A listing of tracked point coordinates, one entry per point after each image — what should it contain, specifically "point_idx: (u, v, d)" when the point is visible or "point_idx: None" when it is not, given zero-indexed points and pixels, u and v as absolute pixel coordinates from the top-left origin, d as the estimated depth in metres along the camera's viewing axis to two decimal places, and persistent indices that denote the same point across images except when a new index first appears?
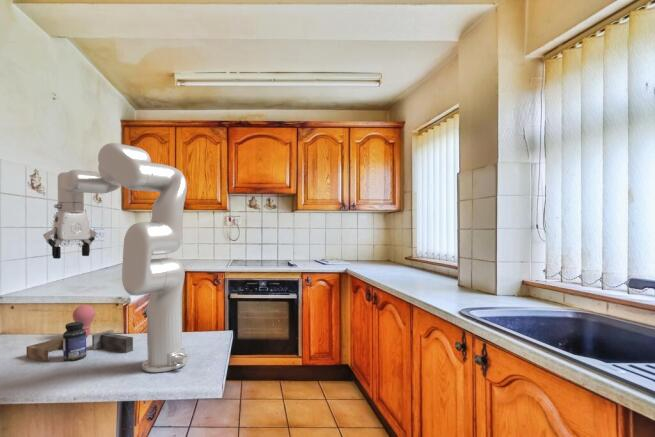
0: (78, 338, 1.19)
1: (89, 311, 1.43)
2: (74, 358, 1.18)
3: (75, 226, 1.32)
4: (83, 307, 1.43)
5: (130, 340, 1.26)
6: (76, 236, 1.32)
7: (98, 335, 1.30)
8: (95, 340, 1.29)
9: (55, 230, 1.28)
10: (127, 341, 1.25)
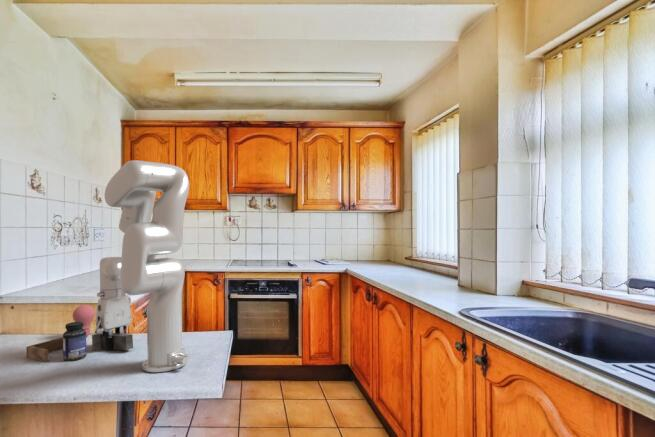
0: (78, 338, 1.19)
1: (89, 311, 1.43)
2: (74, 358, 1.18)
3: (118, 313, 1.28)
4: (83, 307, 1.43)
5: (130, 337, 1.26)
6: (118, 323, 1.28)
7: (98, 335, 1.30)
8: (95, 340, 1.29)
9: None
10: (126, 338, 1.25)
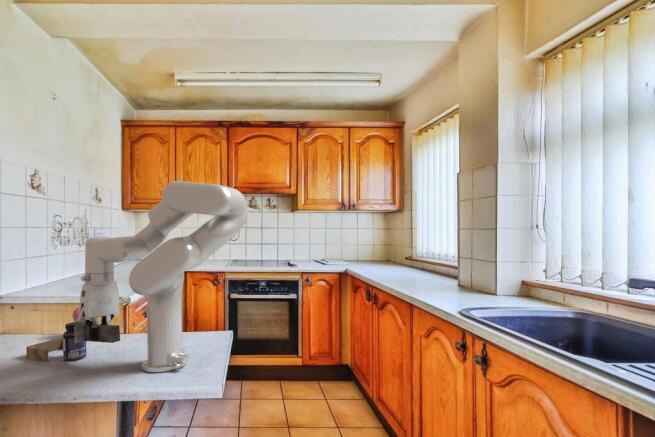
0: None
1: None
2: (74, 358, 1.18)
3: (104, 300, 1.14)
4: None
5: (116, 328, 1.12)
6: (105, 311, 1.14)
7: (81, 326, 1.16)
8: (78, 332, 1.15)
9: None
10: (112, 330, 1.11)
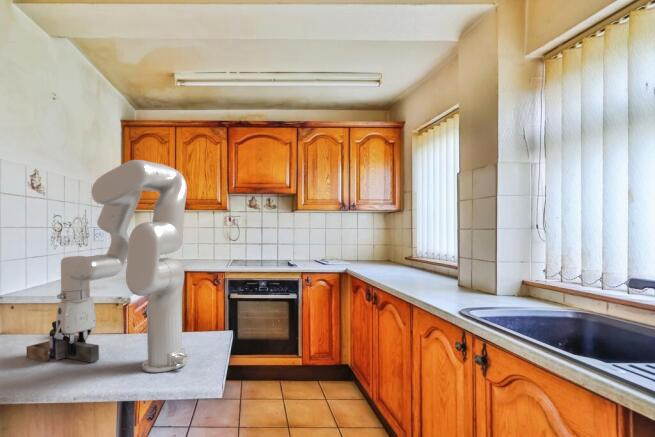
0: None
1: None
2: None
3: (80, 316, 1.19)
4: None
5: (95, 348, 1.17)
6: (81, 327, 1.19)
7: (62, 343, 1.20)
8: (58, 349, 1.20)
9: None
10: (91, 350, 1.16)
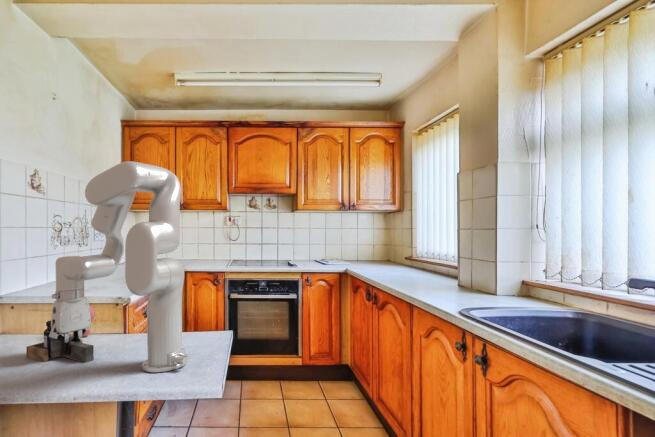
0: None
1: None
2: None
3: (75, 316, 1.20)
4: None
5: (90, 348, 1.18)
6: (76, 326, 1.21)
7: (57, 342, 1.22)
8: (54, 347, 1.21)
9: None
10: (86, 350, 1.17)
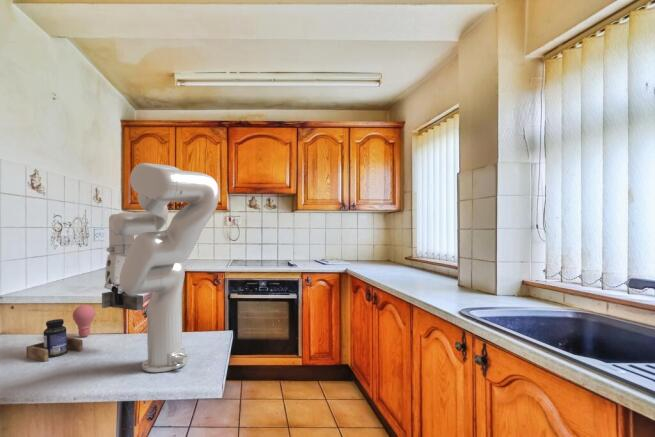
0: (60, 335, 1.24)
1: (89, 311, 1.43)
2: (56, 354, 1.23)
3: None
4: (83, 307, 1.43)
5: (140, 298, 1.27)
6: None
7: (108, 293, 1.30)
8: (105, 298, 1.29)
9: None
10: (137, 299, 1.25)
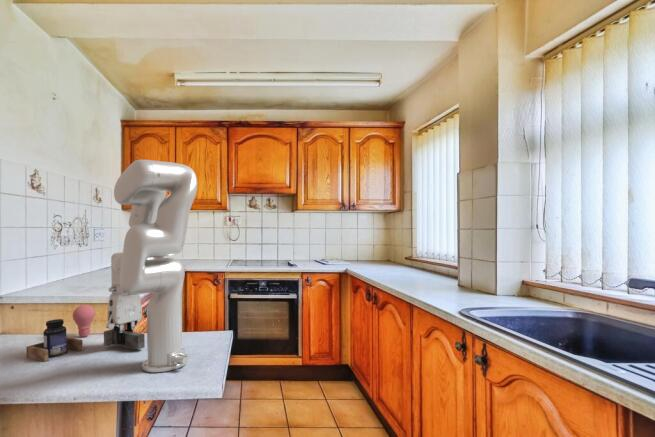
0: (60, 335, 1.24)
1: (89, 311, 1.43)
2: (56, 354, 1.23)
3: (129, 308, 1.29)
4: (83, 307, 1.43)
5: (142, 337, 1.27)
6: (130, 318, 1.29)
7: (109, 331, 1.30)
8: (107, 336, 1.29)
9: None
10: (138, 338, 1.26)
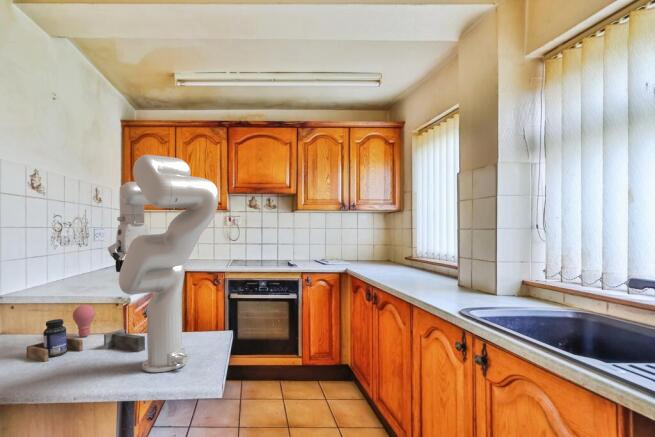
0: (60, 335, 1.24)
1: (89, 311, 1.43)
2: (56, 354, 1.23)
3: None
4: (83, 307, 1.43)
5: (142, 339, 1.27)
6: None
7: (110, 334, 1.30)
8: (107, 339, 1.30)
9: (119, 243, 1.26)
10: (139, 340, 1.26)
